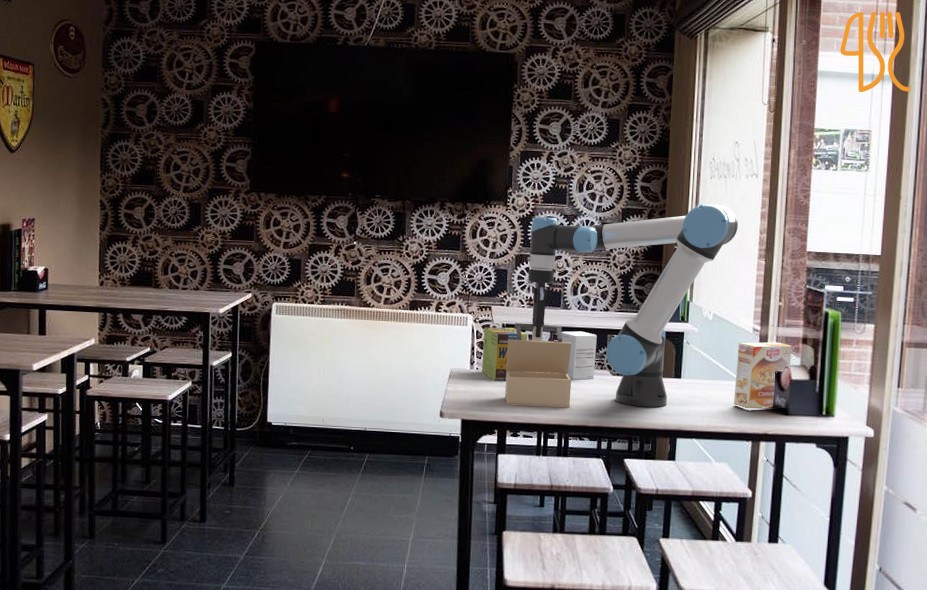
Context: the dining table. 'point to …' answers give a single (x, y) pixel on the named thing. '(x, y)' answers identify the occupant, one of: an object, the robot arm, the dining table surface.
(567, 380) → the carton
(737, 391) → the coffeecake box
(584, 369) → the supplement box
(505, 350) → the protein box
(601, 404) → the dining table surface
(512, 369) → the flap
